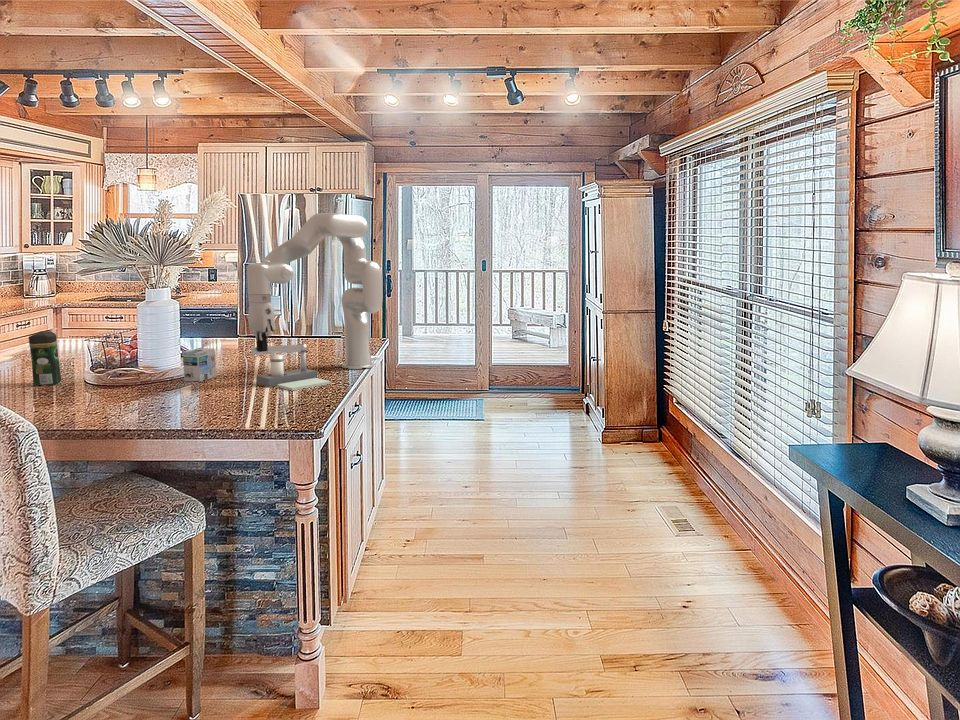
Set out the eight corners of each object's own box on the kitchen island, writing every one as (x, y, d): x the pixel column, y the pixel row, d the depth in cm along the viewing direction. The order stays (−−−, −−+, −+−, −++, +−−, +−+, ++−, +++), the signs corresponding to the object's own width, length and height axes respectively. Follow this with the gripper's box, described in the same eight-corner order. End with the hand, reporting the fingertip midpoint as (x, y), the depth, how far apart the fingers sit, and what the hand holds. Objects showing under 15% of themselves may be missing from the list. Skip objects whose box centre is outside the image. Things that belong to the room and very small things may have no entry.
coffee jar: (38, 381, 256) (33, 330, 252) (63, 380, 258) (58, 329, 255) (30, 387, 246) (24, 333, 243) (56, 386, 249) (51, 333, 245)
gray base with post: (304, 376, 269) (303, 349, 267) (317, 379, 264) (316, 351, 262) (256, 384, 254) (255, 355, 252) (269, 387, 249) (267, 358, 247)
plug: (279, 381, 259) (278, 354, 257) (286, 383, 256) (285, 355, 254) (268, 383, 256) (267, 355, 254) (275, 385, 253) (274, 356, 251)
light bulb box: (200, 382, 257) (198, 352, 255) (183, 381, 258) (181, 351, 256) (217, 376, 267) (215, 348, 265) (200, 375, 268) (198, 347, 267)
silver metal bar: (305, 350, 264) (305, 343, 264) (307, 351, 262) (307, 344, 261) (251, 353, 255) (251, 347, 255) (252, 355, 253) (252, 348, 252)
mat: (315, 380, 261) (315, 377, 261) (331, 384, 255) (330, 381, 255) (277, 387, 249) (277, 384, 249) (292, 391, 243) (292, 388, 243)
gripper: (281, 299, 248) (283, 352, 251) (257, 297, 257) (260, 347, 261) (262, 301, 242) (264, 354, 245) (238, 298, 252) (241, 350, 255)
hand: (262, 351), depth 253 cm, fingers closed
